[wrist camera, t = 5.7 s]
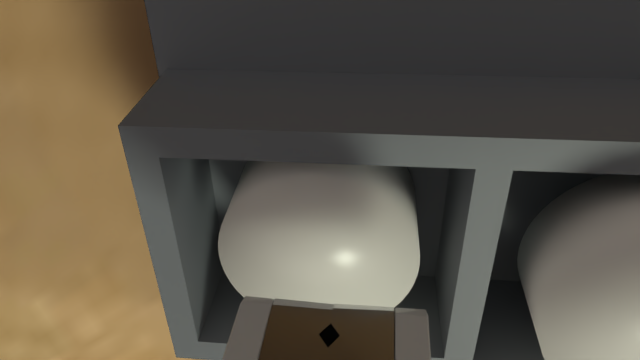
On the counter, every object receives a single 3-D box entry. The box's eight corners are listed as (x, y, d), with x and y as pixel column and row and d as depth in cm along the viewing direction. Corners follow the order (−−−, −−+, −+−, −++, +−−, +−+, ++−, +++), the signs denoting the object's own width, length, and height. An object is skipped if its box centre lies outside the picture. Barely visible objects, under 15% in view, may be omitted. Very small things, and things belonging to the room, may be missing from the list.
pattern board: (1087, -37, 11) (1569, 63, 7) (780, 386, 19) (906, 566, 14) (189, -40, 13) (83, 38, 8) (245, 349, 21) (205, 499, 16)
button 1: (422, 125, 11) (429, 178, 9) (408, 270, 13) (412, 334, 12) (230, 118, 11) (205, 170, 10) (248, 261, 14) (229, 322, 12)
